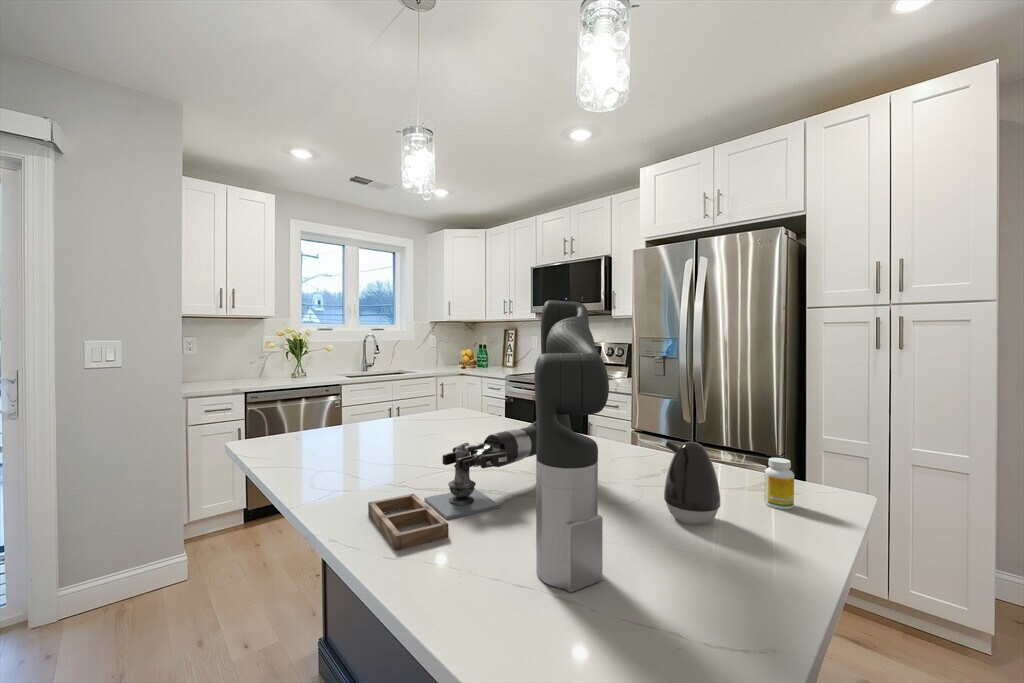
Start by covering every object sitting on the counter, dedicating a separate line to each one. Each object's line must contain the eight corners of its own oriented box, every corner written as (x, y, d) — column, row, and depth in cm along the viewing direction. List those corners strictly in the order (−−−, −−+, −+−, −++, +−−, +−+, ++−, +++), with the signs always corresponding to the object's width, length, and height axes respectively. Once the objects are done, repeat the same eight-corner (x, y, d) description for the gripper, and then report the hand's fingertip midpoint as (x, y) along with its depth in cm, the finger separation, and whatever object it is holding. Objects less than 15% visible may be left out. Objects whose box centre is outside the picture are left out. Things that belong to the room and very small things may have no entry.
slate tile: (499, 507, 95) (499, 504, 95) (446, 519, 89) (446, 516, 89) (473, 490, 105) (473, 487, 105) (424, 500, 99) (424, 497, 99)
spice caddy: (448, 537, 81) (448, 523, 81) (395, 550, 76) (395, 536, 76) (414, 504, 97) (413, 493, 97) (368, 514, 92) (368, 502, 92)
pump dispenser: (677, 505, 96) (677, 433, 96) (728, 519, 89) (729, 441, 88) (653, 519, 89) (653, 441, 89) (707, 536, 82) (707, 451, 81)
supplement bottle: (759, 500, 99) (759, 456, 99) (783, 500, 99) (783, 456, 99) (774, 510, 93) (774, 463, 93) (799, 510, 94) (800, 463, 93)
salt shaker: (471, 506, 94) (472, 448, 94) (443, 503, 95) (445, 446, 95) (478, 497, 100) (480, 442, 100) (452, 494, 101) (454, 440, 101)
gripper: (486, 427, 112) (429, 439, 100) (530, 435, 102) (473, 450, 90) (487, 457, 112) (430, 473, 100) (530, 469, 103) (473, 488, 90)
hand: (451, 462), depth 95 cm, fingers open, 4 cm apart
